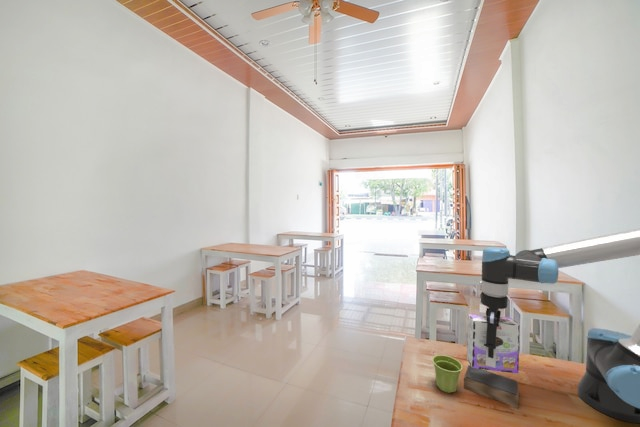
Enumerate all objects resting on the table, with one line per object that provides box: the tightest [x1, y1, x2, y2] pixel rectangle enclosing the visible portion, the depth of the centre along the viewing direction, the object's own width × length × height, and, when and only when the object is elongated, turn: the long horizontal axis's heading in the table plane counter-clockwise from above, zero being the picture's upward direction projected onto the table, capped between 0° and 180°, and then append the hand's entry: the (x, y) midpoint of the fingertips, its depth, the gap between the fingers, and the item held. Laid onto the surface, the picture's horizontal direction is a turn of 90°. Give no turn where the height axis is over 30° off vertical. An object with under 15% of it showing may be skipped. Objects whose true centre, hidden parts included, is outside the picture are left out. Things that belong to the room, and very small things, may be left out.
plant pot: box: [431, 354, 464, 394], centre depth 91 cm, size 9×9×9 cm
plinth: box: [463, 364, 520, 409], centre depth 90 cm, size 15×9×4 cm, turn 53°
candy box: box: [466, 313, 520, 374], centre depth 90 cm, size 14×6×16 cm, turn 77°
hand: (491, 359), depth 90 cm, fingers closed on candy box, 8 cm apart
